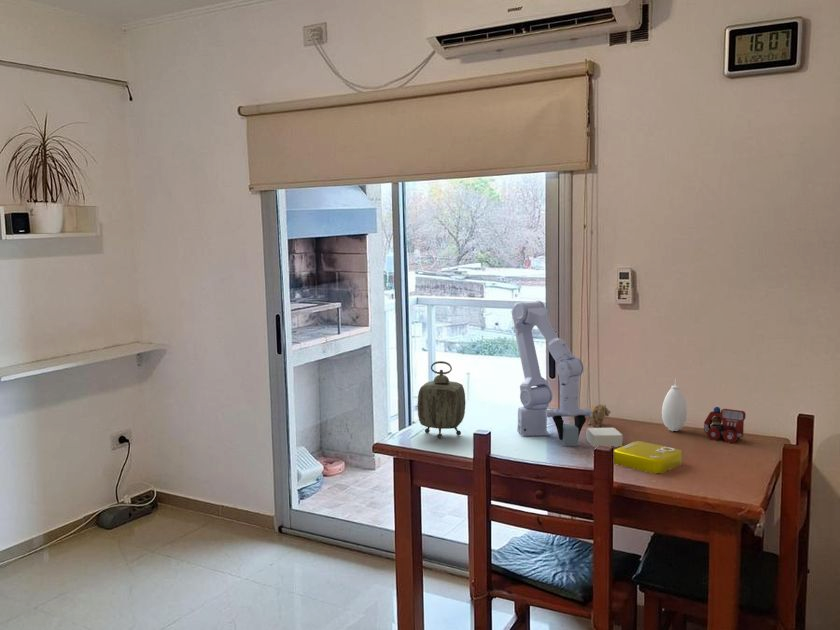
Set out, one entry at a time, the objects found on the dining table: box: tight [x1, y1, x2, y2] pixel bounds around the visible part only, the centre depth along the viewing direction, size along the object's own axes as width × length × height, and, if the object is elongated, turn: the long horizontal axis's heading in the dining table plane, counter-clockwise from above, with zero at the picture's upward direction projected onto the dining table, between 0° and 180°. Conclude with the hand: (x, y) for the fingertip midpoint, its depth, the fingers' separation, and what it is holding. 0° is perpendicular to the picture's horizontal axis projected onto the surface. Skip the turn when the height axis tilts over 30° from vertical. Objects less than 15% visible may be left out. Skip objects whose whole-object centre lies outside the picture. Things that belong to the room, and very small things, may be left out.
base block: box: [585, 427, 624, 448], centre depth 232 cm, size 9×9×4 cm
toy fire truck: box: [703, 406, 747, 444], centre depth 235 cm, size 7×12×10 cm, turn 49°
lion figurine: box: [587, 404, 612, 428], centre depth 251 cm, size 15×5×9 cm, turn 8°
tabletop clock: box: [416, 360, 466, 439], centre depth 238 cm, size 14×9×25 cm, turn 75°
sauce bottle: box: [661, 377, 688, 432], centre depth 245 cm, size 8×8×18 cm
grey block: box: [558, 423, 579, 447], centre depth 231 cm, size 4×6×6 cm
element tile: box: [613, 440, 682, 474], centre depth 211 cm, size 15×15×5 cm
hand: (568, 438), depth 231 cm, fingers closed on grey block, 4 cm apart
